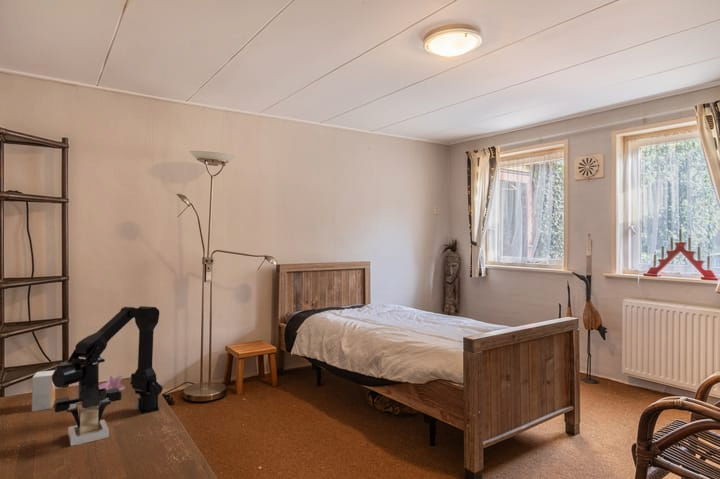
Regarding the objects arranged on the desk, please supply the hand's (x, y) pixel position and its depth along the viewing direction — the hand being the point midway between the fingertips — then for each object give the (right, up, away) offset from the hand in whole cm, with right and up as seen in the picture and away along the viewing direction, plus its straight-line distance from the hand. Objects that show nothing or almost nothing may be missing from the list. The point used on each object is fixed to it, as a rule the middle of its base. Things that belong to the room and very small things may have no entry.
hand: (88, 425), depth 146 cm
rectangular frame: (0, -4, 0) cm, 4 cm away
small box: (-34, -4, +26) cm, 43 cm away
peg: (0, -3, 0) cm, 3 cm away
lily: (-13, -4, +36) cm, 39 cm away
